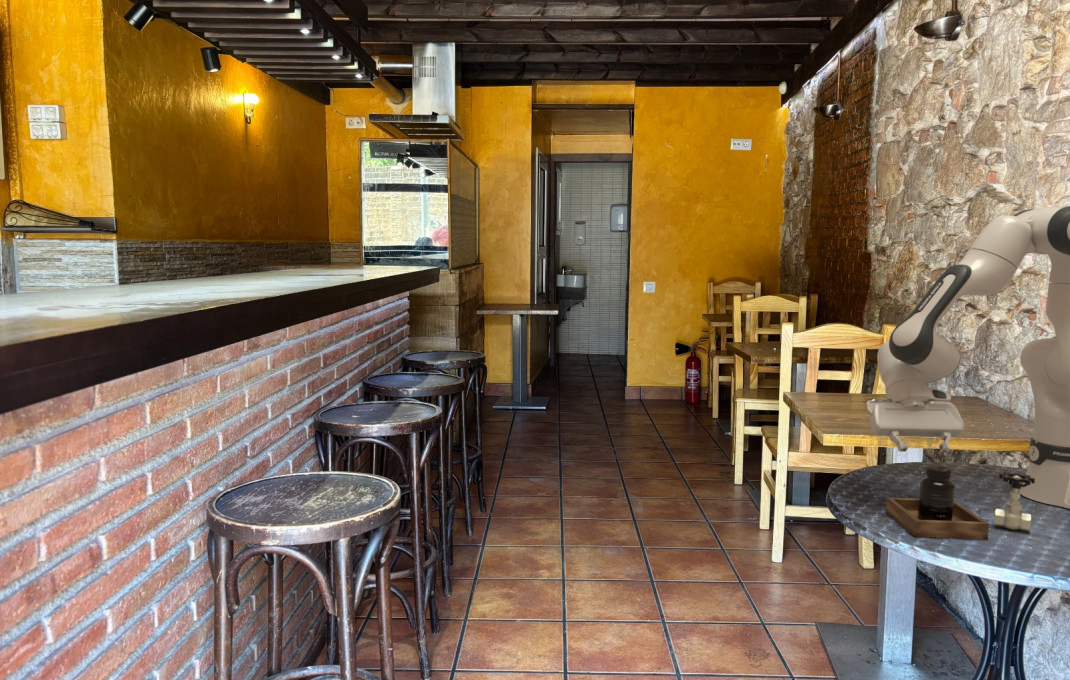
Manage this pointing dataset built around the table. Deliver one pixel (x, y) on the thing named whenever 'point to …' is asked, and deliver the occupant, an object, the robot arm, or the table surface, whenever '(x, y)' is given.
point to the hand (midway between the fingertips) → (924, 450)
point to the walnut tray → (959, 527)
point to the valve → (1014, 504)
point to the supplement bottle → (936, 494)
